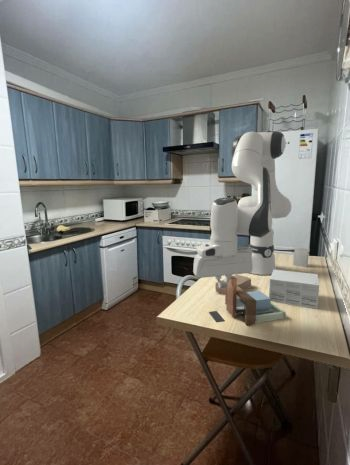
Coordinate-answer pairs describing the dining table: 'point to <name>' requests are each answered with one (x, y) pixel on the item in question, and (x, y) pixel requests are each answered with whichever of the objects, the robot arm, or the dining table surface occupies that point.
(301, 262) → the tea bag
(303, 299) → the supplement box
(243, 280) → the brick
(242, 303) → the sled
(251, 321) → the tunnel
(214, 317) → the dark grey flat block
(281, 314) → the green hollow frame
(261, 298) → the block
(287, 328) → the dining table surface
